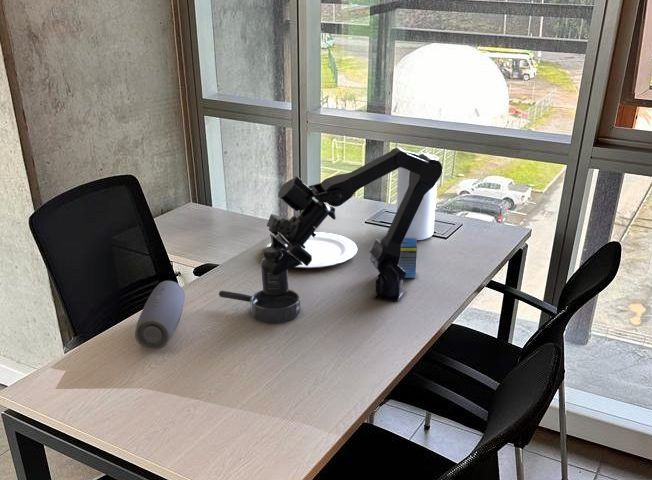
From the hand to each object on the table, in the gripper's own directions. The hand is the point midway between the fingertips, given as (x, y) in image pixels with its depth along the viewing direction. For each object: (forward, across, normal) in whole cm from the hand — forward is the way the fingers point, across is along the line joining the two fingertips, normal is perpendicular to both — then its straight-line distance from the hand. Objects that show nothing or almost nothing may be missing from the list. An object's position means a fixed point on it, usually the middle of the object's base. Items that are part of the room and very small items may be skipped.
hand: (269, 269), depth 185 cm
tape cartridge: (-20, -9, +39) cm, 45 cm away
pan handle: (+13, -8, +2) cm, 15 cm away
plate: (-8, -35, +26) cm, 44 cm away
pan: (+8, 0, +10) cm, 13 cm away
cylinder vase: (-34, -37, +53) cm, 73 cm away
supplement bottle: (+4, 0, +6) cm, 7 cm away
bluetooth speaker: (+29, -1, -12) cm, 32 cm away
